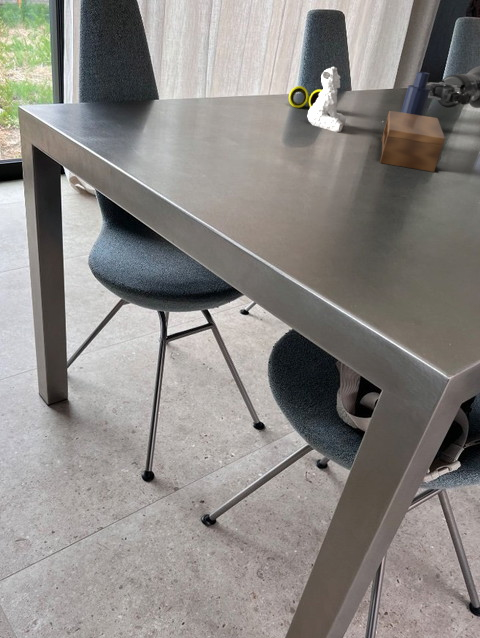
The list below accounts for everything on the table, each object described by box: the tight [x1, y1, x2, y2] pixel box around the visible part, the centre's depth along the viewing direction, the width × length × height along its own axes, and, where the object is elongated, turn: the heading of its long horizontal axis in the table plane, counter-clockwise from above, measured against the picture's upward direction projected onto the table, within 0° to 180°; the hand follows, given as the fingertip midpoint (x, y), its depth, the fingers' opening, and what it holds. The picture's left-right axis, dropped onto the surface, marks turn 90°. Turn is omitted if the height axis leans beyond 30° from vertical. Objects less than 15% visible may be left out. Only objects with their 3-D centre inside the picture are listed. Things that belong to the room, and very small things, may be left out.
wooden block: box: [379, 110, 446, 173], centre depth 113 cm, size 10×20×6 cm, turn 164°
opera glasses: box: [288, 85, 323, 109], centre depth 143 cm, size 10×5×5 cm, turn 69°
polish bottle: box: [400, 71, 431, 116], centre depth 133 cm, size 5×5×12 cm
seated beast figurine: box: [306, 66, 347, 133], centre depth 126 cm, size 10×9×12 cm
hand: (431, 94), depth 138 cm, fingers open, 8 cm apart
